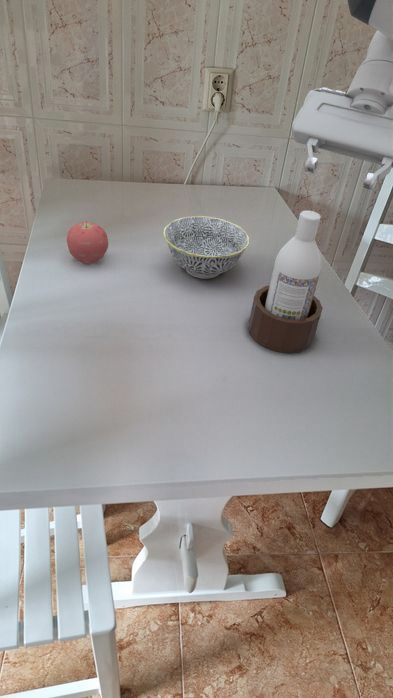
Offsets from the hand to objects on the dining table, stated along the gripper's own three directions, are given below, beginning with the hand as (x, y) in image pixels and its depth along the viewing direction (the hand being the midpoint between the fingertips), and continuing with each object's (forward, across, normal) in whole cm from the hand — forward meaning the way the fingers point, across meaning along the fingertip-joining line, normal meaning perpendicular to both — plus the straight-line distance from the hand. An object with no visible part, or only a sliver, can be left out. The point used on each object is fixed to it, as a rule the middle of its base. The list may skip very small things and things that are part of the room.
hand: (337, 178), depth 74 cm
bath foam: (+23, 0, +8) cm, 25 cm away
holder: (+24, 0, +9) cm, 25 cm away
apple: (+26, -39, +7) cm, 47 cm away
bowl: (+18, -20, +15) cm, 31 cm away
